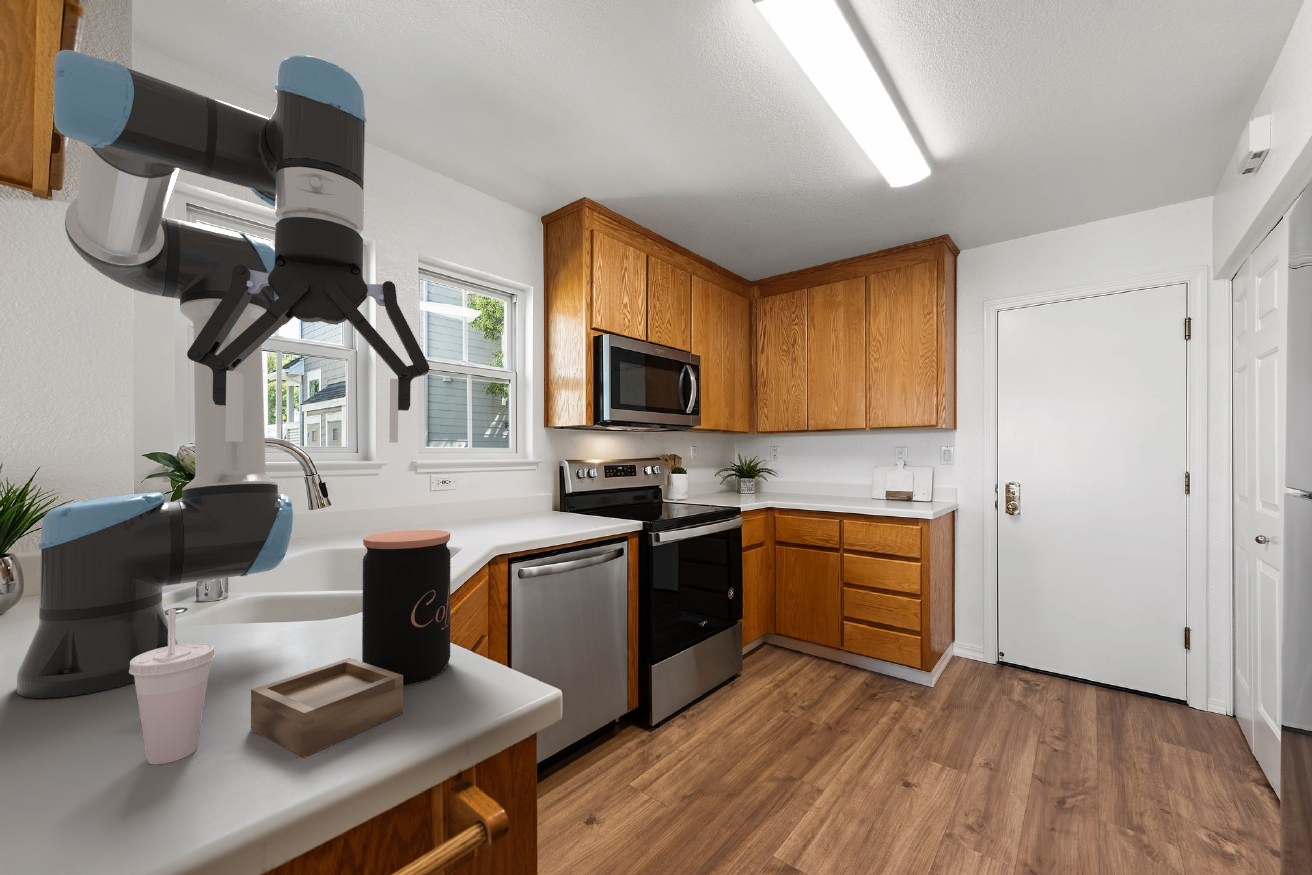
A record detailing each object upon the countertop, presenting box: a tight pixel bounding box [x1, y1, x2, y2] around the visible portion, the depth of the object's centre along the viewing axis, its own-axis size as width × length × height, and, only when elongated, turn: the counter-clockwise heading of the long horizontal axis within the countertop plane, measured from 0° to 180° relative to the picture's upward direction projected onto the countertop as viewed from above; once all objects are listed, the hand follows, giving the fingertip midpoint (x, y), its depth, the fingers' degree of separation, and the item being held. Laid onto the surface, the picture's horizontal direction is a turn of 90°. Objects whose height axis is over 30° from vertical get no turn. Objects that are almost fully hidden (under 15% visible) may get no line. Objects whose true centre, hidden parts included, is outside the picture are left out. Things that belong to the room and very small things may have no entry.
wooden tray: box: [250, 657, 404, 758], centre depth 61 cm, size 10×10×4 cm
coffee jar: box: [361, 529, 451, 686], centre depth 75 cm, size 11×11×18 cm
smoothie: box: [129, 608, 216, 765], centre depth 55 cm, size 6×6×14 cm
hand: (317, 442), depth 56 cm, fingers open, 13 cm apart
